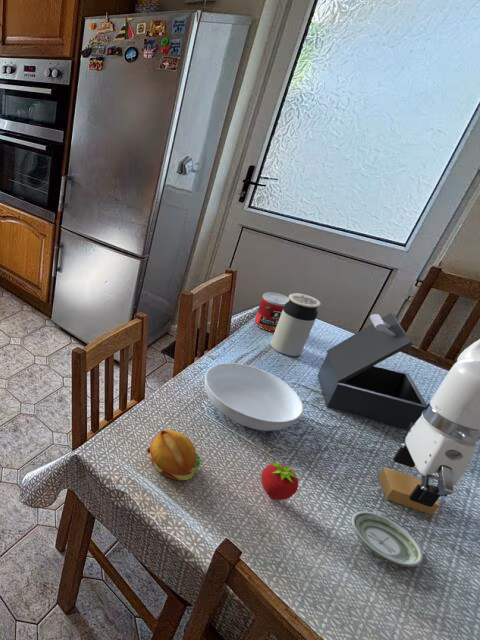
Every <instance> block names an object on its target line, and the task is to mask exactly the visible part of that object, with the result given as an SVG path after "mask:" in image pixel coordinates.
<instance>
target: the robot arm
mask: <svg viewBox="0 0 480 640" xmlns="http://www.w3.org/2000/svg"><path fill="white" fill-rule="evenodd" d="M404 436H405V437H404V440H402V441H401V443H400V445H401V446H400V447H399V449H398V450H397V451H396V452H395V454H394V456H393V457H392V460H393V462H394V463H396V464H400V465H402V466H405V467H409V468H410V469H411V468H412V469H413V468H415V467H416V469H417V470H418V472H419V473H420V474H421V479H422V481H421V485H419V484H418V485H417V486H416V487H415V489H414V490H413V492H412V493H411V494H410V496H409V498H410V500H411V501H414V502H417V503H420V504H423V505H426V506H428V507H432V506H433V505H434V504H435V502H436V501H438V500H439V498H440V497H445V498H446V497H448V496H450V495H453V494H454V492H455V488H454V486H455V485H456V484H457V483H458V482H459V481H460V479H461V478H462V477H463V475H464V473H465V472H466V470H467V468H469V465H470V463H471V461H472V459H473V457H474V454H475V452H476V448H477V443H479V442H480V338H479V339H478V340H475V341H474V342H473V343H471V344H470V345H468V346H467V347H466V348H465V349H464V350H463V351H462V352H461V353H460V354H459V356H458V357H457V360H456V362H455V363H454V364H453V365H452V367H450V370H449V371H448V372H447V374H446V375H445V377H444V378H443V380H442V381H441V383H440V385H439V386H438V387H437V389H436V391H435V392H434V394H433V395H432V397H431V399H430V400H429V402H428V404H427V407H426V408H425V410H424V411H423V413H422V415H421V417H420V418H419V419H418V420H417V421H416V423H415V424H414V423H410V424H409V428H408V431H406V432H405V433H404ZM434 473H436V474H438V476H437V475H434ZM430 479H433V480H435V481H437V486H436V485H433V484H430ZM429 484H430V485H429Z"/></svg>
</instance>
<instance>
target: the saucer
mask: <svg viewBox="0 0 480 640" xmlns="http://www.w3.org/2000/svg"><path fill="white" fill-rule="evenodd" d="M350 523H351V527H352V529H353V532H354V533H355V535H356V536H357V537H358V538H359V540H360V541H361V542H362V543H363V544H364V545H365V546H366V547H367V548H369V550H370V551H372V552H373V553H374V554H376V555H377V556H379V557H381V558H383V559H385V560H386V561H389V562H391V563H393V564H396V565H399V566H403V567H407V568H408V567H417V566H419V565H421V563H422V562H423V560H424V554H423V551H422V549H421V547H420V545H419V544H418V542H417V541H416V540H415V538H414V537H413V536H412V535H411V534H409V532H408V531H407V530H405V529H404V528H403V527H402V526H400V525H399V524H397V523H396V522H394V521H393V520H391V519H389V518H387V517H386V516H383V515H380V514H379V513H375V512H371V511H363V510H362V511H357V512H355V513H353V515H352V516H351V520H350Z"/></svg>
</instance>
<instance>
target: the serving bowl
mask: <svg viewBox="0 0 480 640" xmlns="http://www.w3.org/2000/svg"><path fill="white" fill-rule="evenodd" d="M204 389H205V393H206V395H207V398H208V399H209V401H210V403H212V405H213V406H214V407H215V408H216V409H217V411H219V412H220V413H221V414H222V415H224V416H225V417H226V418H228V419H229V420H231V421H233V422H235V423H237V424H239V425H241V426H244V427H245V428H250V429H253V430H258V431H264V432H265V431H266V432H273V431H281V430H284V429H287V428H289V427H291V426H293V425H294V424H295V423H297V422H298V420H299V419H300V418H301V416H302V415H303V413H304V403H303V400H302V399H301V397H300V395H299V394H298V392H296V391H295V389H294V388H292V386H290V385H289V384H288V383H287V382H286V381H284V380H282V379H281V378H280V377H278V376H276V375H275V374H272V373H271V372H268V371H266V370H265V369H261V368H258V367H256V366H253V365H248V364H243V363H236V362H223V363H218V364H215V365H212V366H211V367H209V368H208V369H207V370H206V372H205V374H204Z"/></svg>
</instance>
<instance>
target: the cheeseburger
mask: <svg viewBox="0 0 480 640" xmlns="http://www.w3.org/2000/svg"><path fill="white" fill-rule="evenodd" d="M193 443H194V442H193V441H192V440H191V439H190V438H189V437H188V436H187V435H186V434H184V433H182V432H180V431H176V430H174V429H163V430H160V431H159V432H158V433H157V434H156V435H154V437H153V438H152V440H151V442H150V444H149V447H148V448H147V449H146V452H147V453H148V455H149V457H150V458H149V459H150V462H151V464H152V465H153V467H154V469H156V470H157V471H158V472H159V473H160V474H162V475H163V476H165V477H166V478H169V479H171V480H174V481H175V480H176V481H180V482H181V481H187V480H190V479H192V478H193V476H194V474H195V472H196V471H197V470H198V469H199V466H200V465H201V463H202V462H203V461H202V458H201V457H200V456H199V455H198V453H197V450H196V447H195V445H194V444H193Z"/></svg>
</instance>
